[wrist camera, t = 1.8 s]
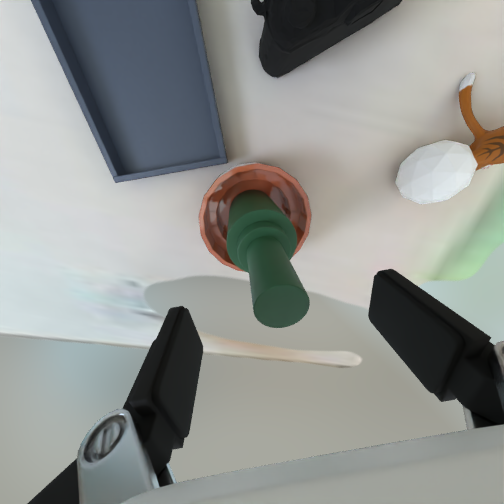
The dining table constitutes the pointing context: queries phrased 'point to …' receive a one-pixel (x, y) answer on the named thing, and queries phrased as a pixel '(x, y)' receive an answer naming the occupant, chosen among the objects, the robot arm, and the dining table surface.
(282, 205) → the bowl
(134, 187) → the dining table surface
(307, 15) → the film camera
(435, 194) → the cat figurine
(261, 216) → the bottle
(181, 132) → the tray
